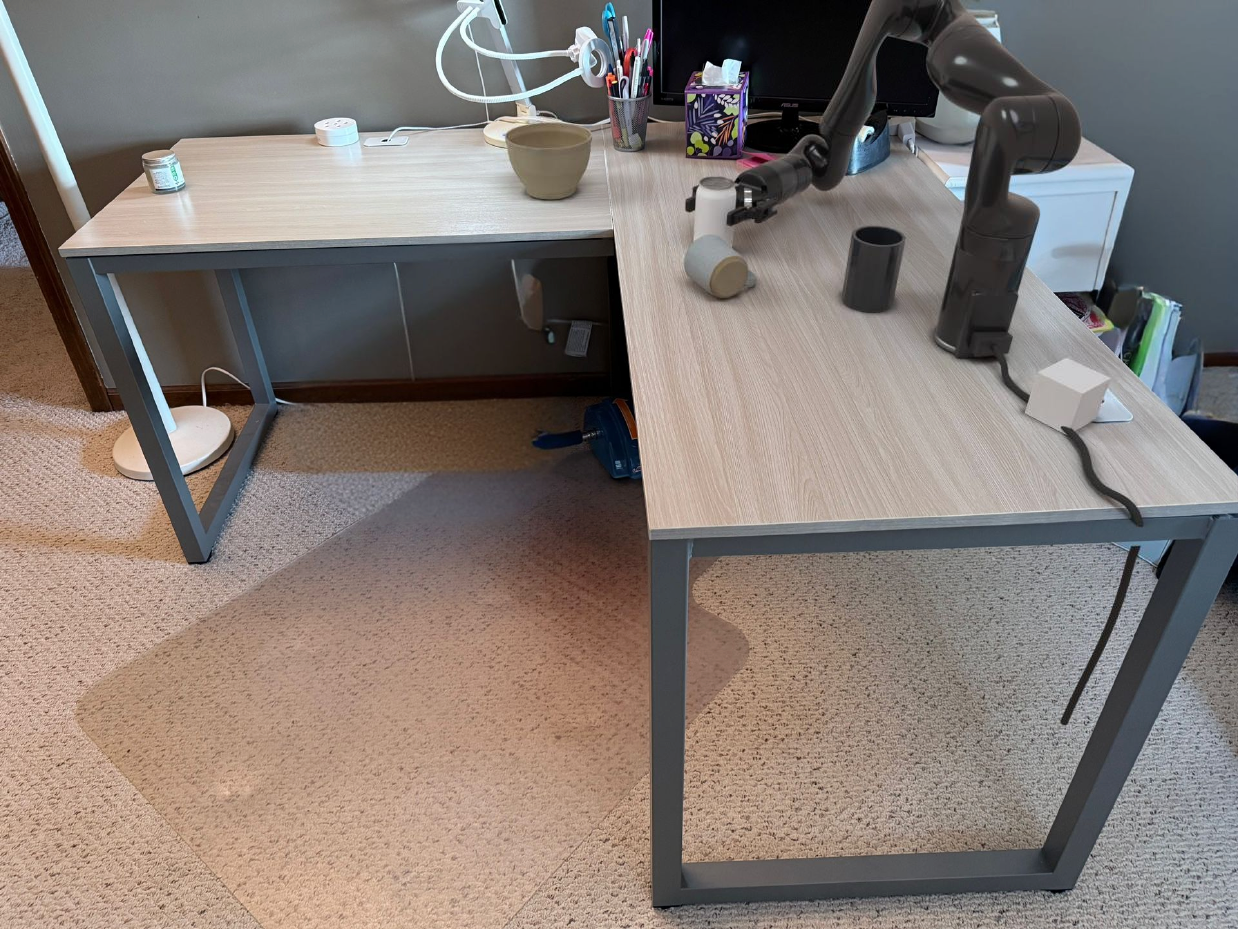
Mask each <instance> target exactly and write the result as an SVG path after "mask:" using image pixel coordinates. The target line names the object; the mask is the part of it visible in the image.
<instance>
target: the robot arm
mask: <svg viewBox="0 0 1238 929" xmlns="http://www.w3.org/2000/svg"><path fill="white" fill-rule="evenodd" d="M887 37H891V38H896V39H900V40H905V41H907V42H908V41H909V42H912V43H917V44H920V45H923V46H925V47H927V48H928V49H927V54H926V61H925V63H926V64H925V65H926V72H927V74H928V76H929V78H930V80H931V81H932V83H933V84H934V86H935V87H936V88H937V89H938V90H939V92H940V93H941V95H943V96H944V98H946V99H947V100H948V101H949V103H951V104H953V105H954V106H956V107H958V108H960V109H962V110H964V111H967V112H969V113H972V114H974V115H977V116H980V117H979V119H978V122H977V126H976V130H975V133H974V138H973V145H972V151H971V156H970V161H969V162H970V163H969V168H968V172H967V178H966V183H965V188H964V198H963V199H964V200H963V201H964V202H963V203H964V205H963V212H962V216H961V220H960V225H959V228H958V233H957V238H956V242H955V246H954V250H953V254H952V258H951V263H950V267H949V270H948V276H947V281H946V284H945V287H944V293H943V297H942V301H941V305H940V309H939V314H938V319H937V323H936V326H935V328H934V332H933V340H934V341H935V343H936V344H937V345H938V346H939V347H941V348H942V349H944V350H945V351H947V352H950V353H952V354H954V355H955V356H956V358H958V359H959V358H962V359H963V358H996V359H997V362H998V363H999V367H1000V372H1001V377H1002V380H1003V382H1004V384H1005V385H1006V386H1007V387H1008V389H1009V390H1010V391H1011V392H1013V393H1014V394H1015V395H1016V396H1017V397H1019V398H1020V399H1021V400H1023V401H1024V402H1026V403H1028V401H1029V398H1030V395H1031V394H1028V392H1025V391H1024V390H1023V389H1021V388H1020V386H1018V385H1017V383H1015V381H1014V380H1013V378H1012V377H1011V376H1010V372H1009V365H1008V362H1007V360H1006V357H1005V355H1007V354H1009V353H1010V349H1011V346H1012V342H1013V339H1014V336H1013V335H1012V334H1011V333H1010V332H1009V331H1010V327H1011V325H1012V320H1013V317H1014V314H1015V311H1016V307H1017V303H1018V299H1019V291H1020V287H1021V284H1022V280H1023V276H1024V272H1025V269H1026V266H1027V262H1028V259H1029V256H1030V252H1031V249H1032V245H1033V242H1034V239H1035V235H1036V232H1037V229H1038V227H1039V226H1038V225H1039V222H1040V218H1041V209H1040V208H1039V206H1038V204H1037V203H1035V202H1034V201H1033V200H1031V199H1029V198H1027V197H1025V196H1023V195H1020V194H1018V193H1015V192H1013V191H1010V182H1011V178H1012V176H1013V177H1014V176H1034V175H1046V174H1051V173H1055V172H1058V171H1060V170H1062V169H1064V168H1066V167H1067V166H1068V165H1069V164H1070V163H1071V162H1072V161H1073V160H1074V159H1075V158H1076V156H1077V154H1078V152H1079V150H1080V148H1081V143H1082V140H1083V139H1082V138H1083V130H1082V129H1083V128H1082V124H1081V118H1080V116H1079V113H1078V111H1077V109H1076V107H1075V105H1074V104H1073V103H1072V101H1071V100H1070V99H1069V98H1068V97H1066V96H1065V95H1064V94H1063V93H1061V92H1060V91H1058V90H1057V89H1056V88H1054V87H1053V86H1050V85H1049V84H1048V83H1046V82H1045V81H1043V80H1042V79H1040V78H1039V77H1037V76H1036V75H1035V74H1033V73H1032V72H1031V71H1030V70H1029V69H1027V67H1026V66H1024V64H1022V63H1021V61H1019V60H1018V59H1017V58H1016V57H1015V56H1014V55H1013V54H1012V53H1011V52H1010V51H1009V50H1007V49H1006V47H1005V46H1004V45H1003V44H1002V43H1001V41H999V40H998V38H997V37H995V36H994V35H993V33H992V32H990V30H988V28H986V27H985V26H984V25H983V24H981V23H980V22H979V21H978V20H977V18H975V16H974V15H972V14H971V13H970V12H969V11H968V10H967V8H966V7H965V6H964V4H963V3H962V1H961V0H872V1H871V2H870V6H869V7H868V11H867V12H866V15H865V18H864V21H863V24H862V25H861V29H860V31H859V33H858V36H857V39H856V41H855V44H854V47H853V49H852V53H851V55H850V58H849V60H848V64H847V66H846V69H845V72H844V74H843V77H842V78H841V80H840V82H839V85H838V87H837V89H836V90H835V93H834V94H833V96H832V98H831V99H830V101H829V103H828V105H827V107H826V109H825V111H824V113H823V114H822V116H821V118H820V120H819V123H818V131H819V135H817V134H807V135H805V136H803V137H802V138H801V139H800V140H799V141H798V142H797V143H796V145H794V147H793V148H792V149H791V150H790V151H789V152H787V154H785V155H783V156H781V157H779V158H776V159H774V160H769V161H765V162H764V163H761V164H759V165H756V166H754V167H752V168H749V169H747V170H745V171H742V172H741V173H739V174H738V176H736V178H735V180H733V181H734V183H735V184H734V187H735V190H736V205H735V209H734V210H732V211H730V212H728V214H727V223H726V224H727V225H728V226H733V225H734V226H735V225H738V224H741V223H742V222H751V220H753V221H754V223H755V224H762V223H763V222H765V221H767V220H769V219H771V218H772V217H775V216H776V215H777V214H778V210H779V205H782V204H783V203H786V201H788V200H789V199H791V198H793V197H795V196H798V195H800V194H801V193H803V192H805V191H807V189H808V188H809V187H810V186H811V185H812V186H813V187H814V188H815V189H816V190H818V191H819V192H829V191H832V190H833V189H835V188H836V187H838V186H839V185H840V184H841V182H843V179H844V178H845V176H846V174H847V171H848V169H849V165H850V161H851V157H852V153H853V149H854V147H855V143H856V141H857V140H856V139H857V137H858V135H859V134H860V132H861V130H862V129H863V127H864V125H865V124H866V122H867V120H868V119H869V117H870V115H871V113H872V112H873V109H874V107H875V104H876V100H877V92H878V89H877V88H878V87H877V85H878V84H877V83H878V82H877V69H876V66H877V63H876V62H877V55H878V52H879V49H880V47H881V46H882V43H883V42H884V40H885V39H886V38H887ZM699 185H700V184H697V185H695V186H693V187H692V190H691V193H692V194H691V196H689V197H688V198H686V199H685V202H684V205H685V206H684V210H685V212H686V213H692V212H695V206H696V192H697V189H698V187H699ZM1060 428H1061V429H1062V430H1063V431H1064V432H1065V433H1066V434H1067V435H1066V434H1065V435H1066V436H1067V437H1068V438H1070V439H1071V441H1072V442H1073V443H1074V444H1075V446H1076V448H1077V449H1078V451H1079V452H1080V455H1081V459H1082V465H1083V469H1084V472H1085V475H1086V477H1087V479H1088V480H1089V482H1090V483H1091V485H1092V486H1093V487H1094V489H1096V490H1097V491H1098V492H1100V493H1101V494H1102V495H1104V496H1106V497H1108V498H1110V499H1113V500H1114V501H1116V502H1118V503H1120V504H1121V505H1122V506H1123V507H1125V509H1126V510H1127V511H1128V512H1129V514H1130V516H1131V519H1132V522H1133V524H1134V525H1135V526H1136V527H1138V528H1143V527H1144V520H1143V516H1142V514H1141V511H1140V510H1139V508H1138V506H1137V505H1136V504H1135V503H1134V502H1133V500H1131V499H1130V498H1129V497H1127V496H1125V495H1124V494H1123V493H1121V492H1118V491H1117V490H1114V489H1113V488H1110V487H1109V486H1108V485H1105V483H1103V482H1102V481H1101V480H1100V479H1099V477H1098V476H1097V474H1096V473H1095V470H1094V468H1093V462H1092V457H1091V454H1090V451H1089V449H1088V447H1087V445H1086V443H1085V442H1084V440H1083V439H1082V437H1081V436H1080V435H1079V433H1077V431H1074V430H1073V429H1072V428H1068V427H1066V426H1061V427H1060ZM1141 547H1142V545H1130V548H1129V551H1128V554H1127V556H1126V559H1125V564H1124V566H1123V570H1122V574H1121V577H1120V581H1119V585H1118V588H1117V591H1116V594H1115V597H1114V601H1113V604H1112V606H1111V609H1110V611H1109V614H1108V617H1107V620H1106V622H1105V625H1104V627H1103V629H1102V632H1101V634H1100V636H1099V639H1098V641H1097V643H1096V645H1095V647H1094V649H1093V652H1092V654H1091V656H1090V657H1089V660H1088V662H1087V664H1086V666H1085V667H1084V669H1083V672H1082V674H1081V676H1080V678H1079V680H1078V681H1077V684H1076V686H1075V688H1074V690H1073V692H1072V694H1071V696H1070V698H1069V700H1068V703H1067V705H1066V707H1065V709H1064V711H1063V713H1062V716H1061V719H1060V720H1059V723H1060V724H1061V725H1062V726H1065V727H1067V726H1068V725H1069V723H1070V720H1071V718H1072V715H1073V713H1074V711H1075V709H1076V706H1077V704H1078V702H1079V700H1080V698H1081V696H1082V694H1083V692H1084V690H1085V689H1086V686H1087V684H1088V682H1089V680H1090V678H1091V676H1092V674H1093V673H1094V670H1095V668H1096V667H1097V665H1098V662H1099V661H1100V659H1101V657H1102V655H1103V653H1104V650H1105V648H1106V647H1107V644H1108V642H1109V639H1110V637H1111V636H1112V633H1113V631H1114V628H1115V626H1116V623H1117V621H1118V618H1119V616H1120V613H1121V610H1122V608H1123V604H1124V602H1125V600H1126V596H1127V593H1128V589H1129V587H1130V583H1131V579H1132V577H1133V572H1134V568H1135V565H1136V561H1137V558H1138V556H1139V554H1140V550H1141Z"/></svg>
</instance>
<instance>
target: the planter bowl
mask: <svg viewBox="0 0 1238 929" xmlns="http://www.w3.org/2000/svg"><path fill="white" fill-rule="evenodd" d="M504 140H505V145H506V149H507V150H506V151H507V155H508V159H509V162H510V165H511V167H512V170H513V172H514V174H515V175H516V177H517V178H518V180H519V181H520V183H521V184H522V185H523V186H524V189H525V192H526V194H527V195H528V196H530V197H533V198H536V199H540V200H541V199H542V200H559V199H564V198H567V197H570V196H572V195H574V194H575V192H576V189H577V185H578V183H579V182H580V181H581V180H582V179H583V176H584V174H585V172H586V171H587V168H588V165H589V161H590V157H591V148H592V141H593V133H592V131H591V130H590V129H588V128H586V127H584V126H581V125H577V124H574V123H573V124H572V123H566V122H554V121H553V122H552V121H550V122H535V123H528V124H523V125H518V126H516V127H513V128H511V129H509V130H507V131H506V133H505V135H504Z"/></svg>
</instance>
